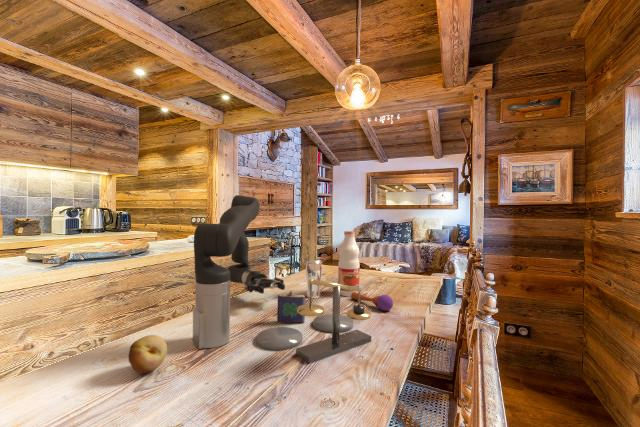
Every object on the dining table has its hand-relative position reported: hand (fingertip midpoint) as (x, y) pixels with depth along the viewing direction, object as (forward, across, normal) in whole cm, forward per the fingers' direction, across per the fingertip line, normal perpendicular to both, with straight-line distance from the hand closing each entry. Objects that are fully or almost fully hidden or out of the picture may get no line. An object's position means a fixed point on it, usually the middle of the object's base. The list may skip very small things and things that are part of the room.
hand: (273, 288), depth 113 cm
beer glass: (-8, +24, +9) cm, 26 cm away
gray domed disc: (+22, -10, +8) cm, 26 cm away
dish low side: (+22, +10, +8) cm, 26 cm away
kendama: (+15, +36, +9) cm, 40 cm away
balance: (+35, 0, +8) cm, 36 cm away
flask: (+12, 0, +8) cm, 15 cm away
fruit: (+20, -43, +8) cm, 48 cm away
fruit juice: (-2, +39, +9) cm, 40 cm away
